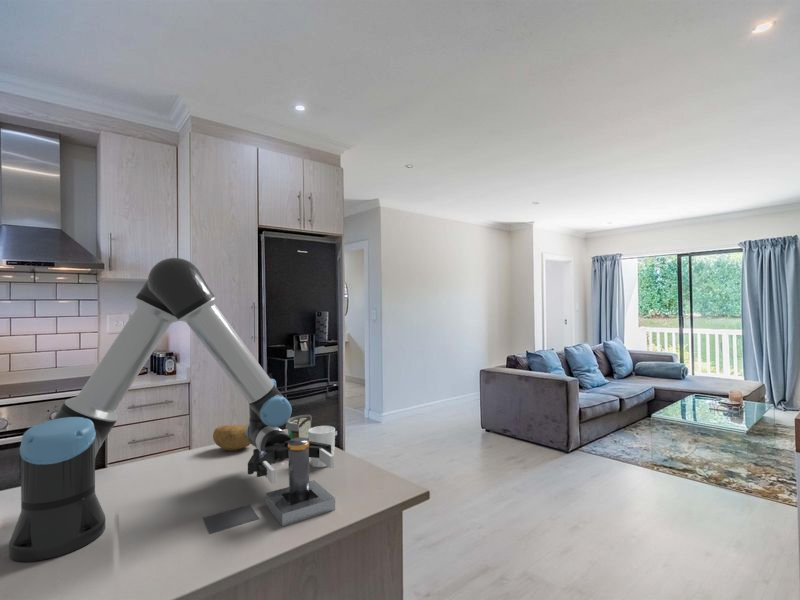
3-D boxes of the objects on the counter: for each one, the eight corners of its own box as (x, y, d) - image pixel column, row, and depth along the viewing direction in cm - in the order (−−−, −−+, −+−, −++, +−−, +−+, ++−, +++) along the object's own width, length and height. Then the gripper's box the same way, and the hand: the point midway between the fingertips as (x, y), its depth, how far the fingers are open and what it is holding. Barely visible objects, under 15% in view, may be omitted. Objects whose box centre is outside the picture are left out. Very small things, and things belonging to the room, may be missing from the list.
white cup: (329, 469, 118) (329, 434, 118) (304, 467, 120) (303, 433, 120) (339, 459, 126) (338, 426, 126) (315, 457, 128) (314, 425, 128)
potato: (253, 453, 132) (253, 428, 133) (208, 455, 131) (207, 430, 131) (261, 443, 142) (261, 420, 142) (219, 445, 141) (219, 421, 141)
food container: (294, 443, 142) (294, 414, 142) (312, 443, 141) (311, 414, 141) (279, 456, 129) (279, 424, 130) (298, 457, 129) (297, 424, 129)
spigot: (293, 518, 91) (292, 445, 91) (286, 509, 95) (285, 440, 95) (313, 512, 94) (312, 441, 94) (305, 504, 97) (304, 436, 98)
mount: (209, 538, 83) (209, 533, 83) (202, 522, 90) (202, 517, 90) (259, 523, 89) (259, 518, 89) (249, 508, 96) (249, 504, 96)
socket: (282, 531, 86) (282, 514, 86) (265, 508, 96) (265, 493, 96) (335, 513, 93) (335, 498, 93) (314, 494, 102) (314, 480, 103)
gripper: (318, 448, 116) (354, 472, 99) (224, 469, 102) (246, 501, 85) (318, 421, 116) (353, 440, 99) (223, 438, 102) (245, 465, 85)
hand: (304, 469), depth 92 cm, fingers open, 13 cm apart
